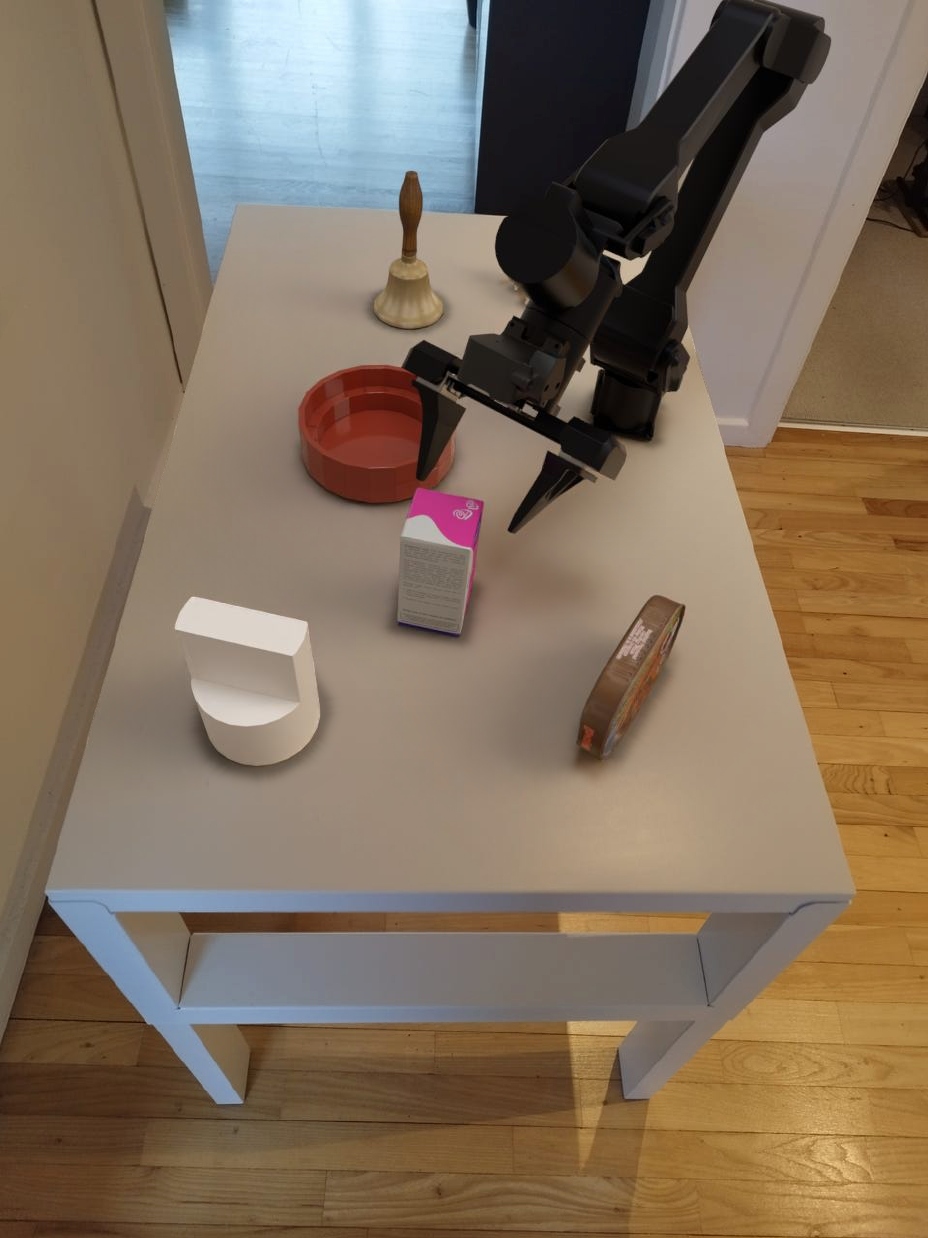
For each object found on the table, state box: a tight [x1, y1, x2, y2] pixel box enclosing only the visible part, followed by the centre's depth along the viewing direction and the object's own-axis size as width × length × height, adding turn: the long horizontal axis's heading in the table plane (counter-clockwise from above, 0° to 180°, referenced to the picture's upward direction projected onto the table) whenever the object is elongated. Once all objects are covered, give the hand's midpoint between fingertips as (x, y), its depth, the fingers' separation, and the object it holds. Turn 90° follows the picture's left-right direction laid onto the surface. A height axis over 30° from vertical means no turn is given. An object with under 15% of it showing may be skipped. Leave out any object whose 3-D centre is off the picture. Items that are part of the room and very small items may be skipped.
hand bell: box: [372, 170, 444, 330], centre depth 98 cm, size 8×8×16 cm
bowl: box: [297, 364, 457, 504], centre depth 87 cm, size 15×15×5 cm
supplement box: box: [396, 488, 485, 638], centre depth 73 cm, size 6×6×12 cm
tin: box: [575, 594, 687, 762], centre depth 69 cm, size 15×3×8 cm, turn 148°
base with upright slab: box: [174, 595, 321, 767], centre depth 65 cm, size 9×9×12 cm
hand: (464, 505), depth 71 cm, fingers open, 9 cm apart
